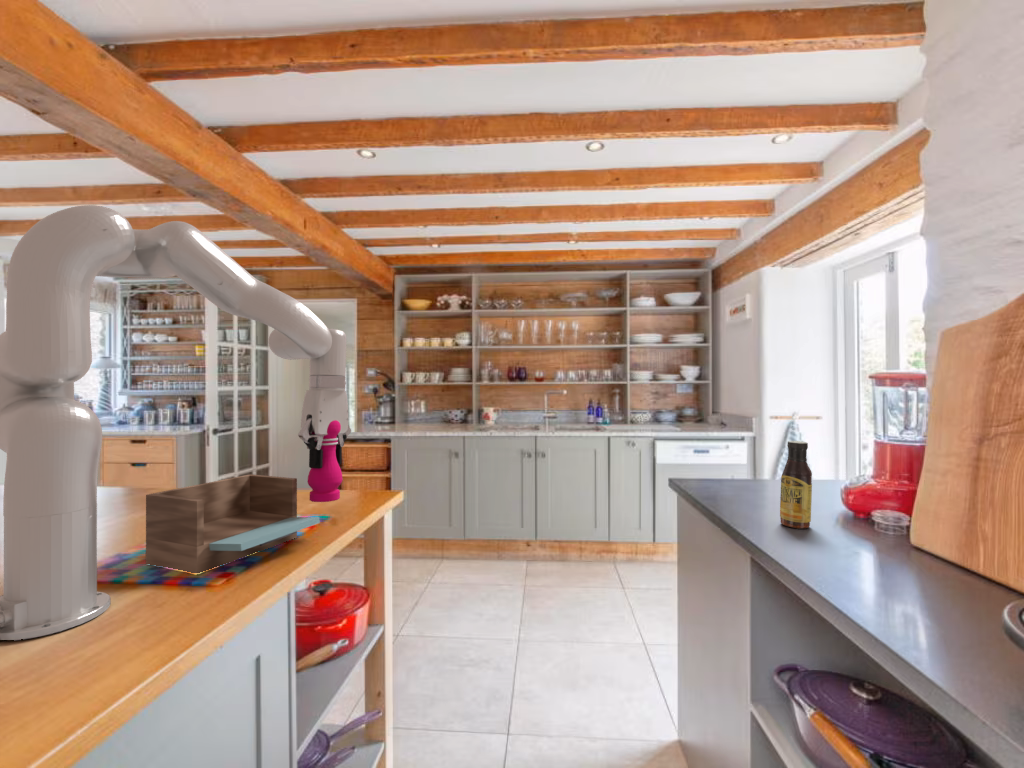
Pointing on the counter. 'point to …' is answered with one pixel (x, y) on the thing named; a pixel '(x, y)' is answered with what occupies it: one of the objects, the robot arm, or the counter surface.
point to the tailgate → (264, 534)
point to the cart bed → (214, 519)
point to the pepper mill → (327, 469)
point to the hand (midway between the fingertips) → (325, 465)
